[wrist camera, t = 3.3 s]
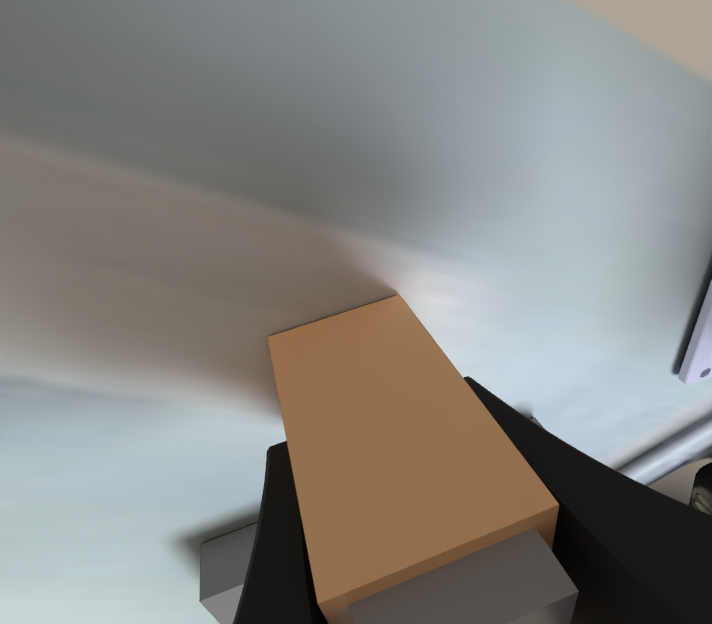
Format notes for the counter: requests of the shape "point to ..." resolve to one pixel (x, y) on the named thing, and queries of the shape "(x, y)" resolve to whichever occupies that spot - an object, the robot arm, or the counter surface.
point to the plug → (410, 481)
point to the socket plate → (228, 570)
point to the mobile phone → (702, 490)
